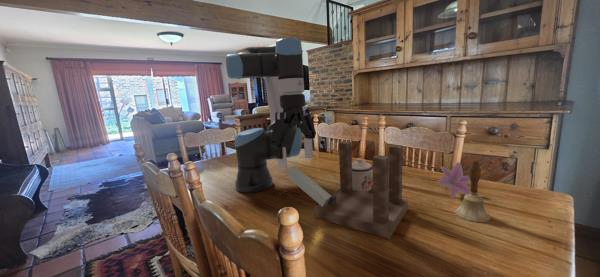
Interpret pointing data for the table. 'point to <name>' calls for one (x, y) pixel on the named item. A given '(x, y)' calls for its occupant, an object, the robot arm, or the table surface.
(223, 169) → the table surface
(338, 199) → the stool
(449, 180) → the lily
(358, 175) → the teacup with lid
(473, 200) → the hand bell
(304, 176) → the folding leg
